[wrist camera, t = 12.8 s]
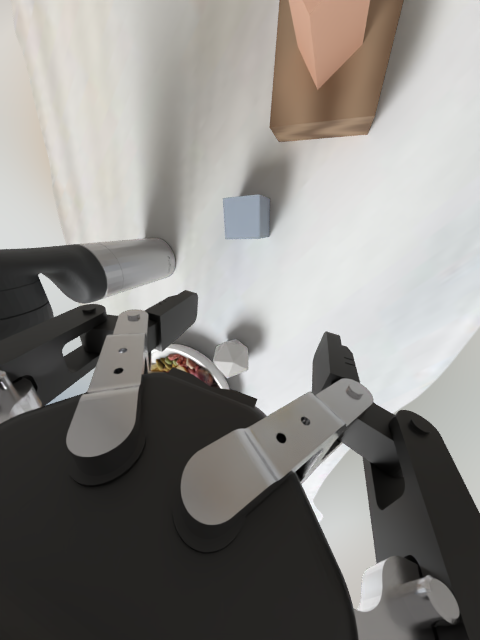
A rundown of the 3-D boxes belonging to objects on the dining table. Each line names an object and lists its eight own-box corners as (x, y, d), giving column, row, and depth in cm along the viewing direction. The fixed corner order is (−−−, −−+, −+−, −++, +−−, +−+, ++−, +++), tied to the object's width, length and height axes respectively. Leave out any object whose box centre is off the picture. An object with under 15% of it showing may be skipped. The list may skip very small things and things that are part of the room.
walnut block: (279, 142, 31) (269, 127, 26) (291, 23, 26) (281, -25, 21) (367, 135, 28) (374, 115, 22) (401, -7, 22) (422, -75, 17)
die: (253, 333, 48) (217, 337, 42) (262, 370, 46) (225, 379, 40) (236, 341, 54) (202, 345, 49) (243, 374, 52) (208, 382, 47)
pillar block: (317, 89, 23) (309, 15, 15) (297, 46, 23) (277, -58, 14) (362, 44, 21) (383, -76, 12) (341, -7, 20) (348, -171, 12)
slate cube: (239, 237, 39) (225, 239, 34) (237, 201, 37) (222, 198, 32) (269, 236, 37) (259, 238, 32) (270, 198, 35) (259, 194, 30)
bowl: (199, 428, 72) (186, 448, 65) (140, 366, 71) (120, 381, 64) (257, 400, 55) (246, 424, 49) (181, 319, 54) (160, 332, 48)
